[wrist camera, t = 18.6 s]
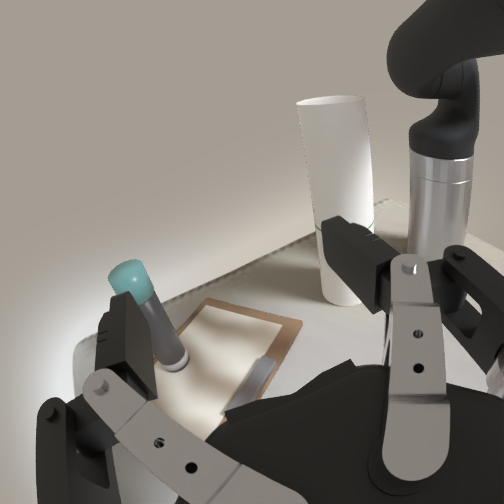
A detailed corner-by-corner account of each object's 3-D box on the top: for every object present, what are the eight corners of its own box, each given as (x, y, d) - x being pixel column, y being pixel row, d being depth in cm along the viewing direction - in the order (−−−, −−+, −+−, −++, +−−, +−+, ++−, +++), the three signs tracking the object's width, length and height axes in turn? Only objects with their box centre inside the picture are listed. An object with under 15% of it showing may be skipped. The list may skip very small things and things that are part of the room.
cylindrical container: (369, 270, 43) (359, 93, 29) (375, 304, 37) (370, 101, 24) (322, 273, 45) (297, 99, 31) (321, 308, 39) (293, 107, 26)
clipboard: (208, 301, 45) (204, 292, 44) (302, 325, 37) (301, 315, 36) (111, 414, 30) (103, 407, 29) (206, 479, 23) (199, 475, 22)
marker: (174, 345, 37) (127, 257, 30) (196, 355, 35) (149, 262, 28) (156, 366, 35) (101, 278, 27) (177, 377, 33) (121, 287, 25)
